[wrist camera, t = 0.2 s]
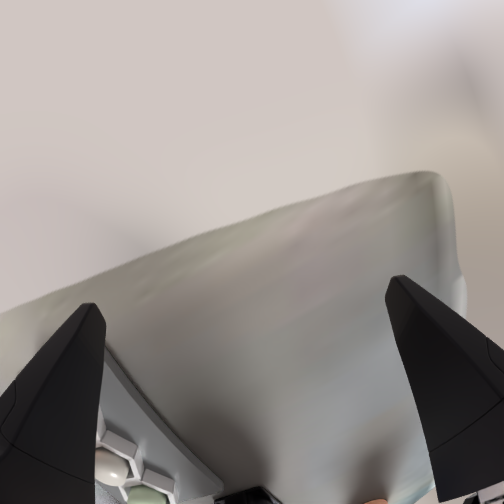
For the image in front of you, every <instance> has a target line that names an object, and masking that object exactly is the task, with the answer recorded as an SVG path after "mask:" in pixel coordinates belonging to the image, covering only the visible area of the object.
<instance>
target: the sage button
mask: <svg viewBox="0 0 504 504" xmlns="http://www.w3.org/2000/svg"><path fill="white" fill-rule="evenodd" d="M166 500H167V494H165V493H163V492H160V491H158V490H155V489H153V488H150V487H148V486H146V485H143V484H140V485H135V486H131V489H130V493H129V496H128V499H127V504H166Z"/></svg>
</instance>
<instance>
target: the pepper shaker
mask: <svg viewBox="0 0 504 504" xmlns="http://www.w3.org/2000/svg"><path fill="white" fill-rule="evenodd" d="M364 504H388V503H387V501H386V500H384V499H377V500H373V501H369V502H367V503H364Z"/></svg>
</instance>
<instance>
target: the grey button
mask: <svg viewBox="0 0 504 504" xmlns="http://www.w3.org/2000/svg"><path fill="white" fill-rule="evenodd" d="M129 469H130V463H129V460H127V459H125V458H123V457H121V456H119V455H118V454H116V453H114V452H112V451H110V450H108V449H106V448H104V447H103V446H101V447H97V448H96V453H95V479H97V480H98V481H100V482H102V483H104V484H107V485H110V486H121V485H123V484H124V483H125V480H126V477H127V475H128V472H129Z"/></svg>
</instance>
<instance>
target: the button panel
mask: <svg viewBox="0 0 504 504" xmlns="http://www.w3.org/2000/svg"><path fill="white" fill-rule="evenodd" d="M101 446H103V447H104V448H106V449H108V450H110V451H112V452H114V453H116V454H118V455H119V456H121V457H123V458H125V459H127V460H129V463H130V469H129V472H128V475H127V477H126V480H125V483H124V484H123V485H121V486H110V485H107V484H104V483H102V482H100V481H98V480H97V479H95V482H97V483H98V484H99V485H100V486H101V487H102V488H103V489H105V490H106V491H107V492H108V493H109V494H111V495H112V496H113V497H114V498H115V499H117V500H118V501H119V502H121V503H122V504H127V499H128V496H129V493H130V489H131V486H135V485H140V484H143V485H146V486H148V487H150V488H153V489H155V490H158V491H160V492H163V493H165V494H167V500H166V504H178V502H183V501H187V500H192V499H196V498H200V497H204V496H208V495H211V494H215V493H218V492H222V491H223V481H222V480H221V479H219V478H218V477H217V476H216V475H215V474H214V473H213V472H212V471H211V470H210V469H209V468H208V467H206V466H205V465H204V464H203V463H202V462H201V461H200V460H199V459H198V458H197V457H196V456H195V455H194V454H193V453H192V452H191V451H190V450H189V449H188V448H187V447H186V446H185V445H184V444H183V443H182V442H181V441H180V439H179V438H178V437H177V436H176V435H175V434H174V433H173V432H172V431H171V430H170V429H169V428H168V426H167V425H166V424H165V423H164V422H163V421H162V420H161V419H160V417H159V416H158V415H157V414H156V413H155V412H154V410H153V409H152V408H151V407H150V406H149V404H148V403H147V402H146V401H145V399H144V398H143V397H142V396H141V394H140V393H139V392H138V391H137V389H136V388H135V387H134V386H133V384H132V383H131V382H130V380H129V379H128V378H127V376H126V375H125V374H124V372H123V371H122V370H121V368H120V367H119V365H118V364H117V363H116V361H115V360H114V358H113V357H112V356H111V354H110V353H109V351H108V350H107V348H106V347H105V351H104V369H103V378H102V385H101V393H100V402H99V412H98V422H97V435H96V448H97V447H101Z"/></svg>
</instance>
